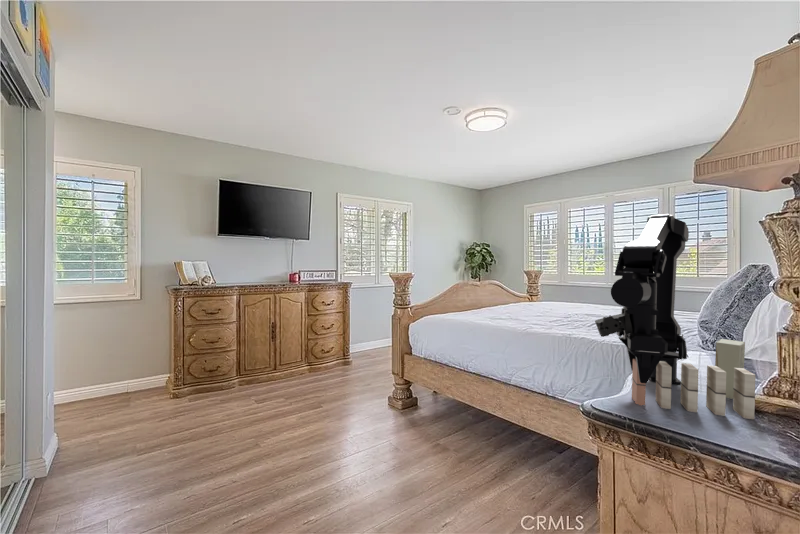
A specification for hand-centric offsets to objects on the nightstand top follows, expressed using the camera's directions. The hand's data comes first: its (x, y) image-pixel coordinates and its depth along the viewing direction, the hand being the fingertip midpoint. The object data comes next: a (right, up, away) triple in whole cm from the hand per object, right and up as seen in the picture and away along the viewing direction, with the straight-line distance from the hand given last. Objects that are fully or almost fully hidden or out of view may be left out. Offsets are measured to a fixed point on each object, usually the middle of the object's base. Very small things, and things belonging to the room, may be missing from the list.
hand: (638, 377), depth 85 cm
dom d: (+13, -6, -5) cm, 14 cm away
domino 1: (0, -5, 0) cm, 5 cm away
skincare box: (+23, -6, +5) cm, 25 cm away
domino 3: (+17, -6, -6) cm, 19 cm away
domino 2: (+8, -5, -3) cm, 10 cm away
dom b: (+4, -5, -2) cm, 7 cm away
